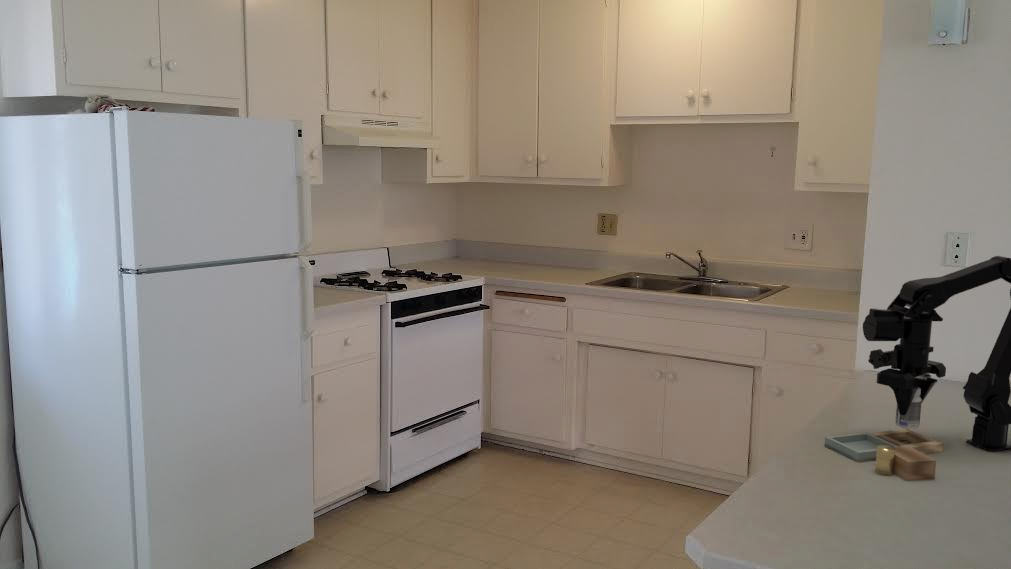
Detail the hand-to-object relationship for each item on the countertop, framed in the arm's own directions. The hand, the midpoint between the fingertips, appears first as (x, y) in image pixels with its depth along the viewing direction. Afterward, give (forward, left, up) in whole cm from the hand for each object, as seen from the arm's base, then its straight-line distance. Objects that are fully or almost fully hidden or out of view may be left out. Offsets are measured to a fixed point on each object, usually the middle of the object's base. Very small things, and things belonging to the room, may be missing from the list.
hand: (908, 412), depth 182 cm
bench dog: (+16, +11, -8) cm, 21 cm away
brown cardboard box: (+11, +12, -8) cm, 18 cm away
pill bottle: (0, 0, -3) cm, 3 cm away
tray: (+11, 0, -8) cm, 14 cm away
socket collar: (0, 0, -8) cm, 8 cm away
